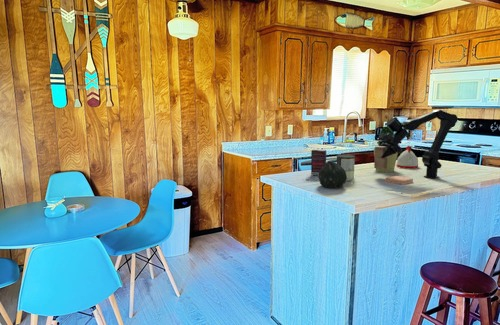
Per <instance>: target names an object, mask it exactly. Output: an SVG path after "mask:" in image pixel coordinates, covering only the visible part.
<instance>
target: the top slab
mask: <svg viewBox="0 0 500 325" xmlns="http://www.w3.org/2000/svg"><path fill="white" fill-rule="evenodd" d="M384 181H385V182H387V183H393V184H397V185H406V184H410V183H412V184H413V182H414V178H411V177H405V176H401V175H394V176H387V177H385V178H384Z"/></svg>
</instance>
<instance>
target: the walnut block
mask: <svg viewBox="0 0 500 325" xmlns="http://www.w3.org/2000/svg"><path fill="white" fill-rule="evenodd" d="M374 148H375V157H374V164H373V165H374V166H373V167H374V169H376V168H378V169H385V168H387V157H385V158H382V155H383V154H384V153H385V151H386V150H387V147H385V146H379V145H377V146H375V147H374Z"/></svg>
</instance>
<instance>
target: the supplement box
mask: <svg viewBox="0 0 500 325" xmlns="http://www.w3.org/2000/svg"><path fill="white" fill-rule="evenodd" d="M310 156H311V158H310V159H311V160H310V161H311V162H310V163H311V164H310V166H311V167H310V168H311V169H310V170H311V171H310V174H311V175H310V176H313V175H318V176H319V172H320V170H321V168H322V167H323V166H324V165H325V164H326V163H327V150H326V149H325V150H324V149H311V154H310ZM318 176H317V177H318Z"/></svg>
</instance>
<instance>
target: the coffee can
mask: <svg viewBox="0 0 500 325" xmlns="http://www.w3.org/2000/svg"><path fill="white" fill-rule="evenodd" d="M355 159H356V156H355V155H352V154H336V164H338V165H340V166H341V167H342V168H343V169H344V170H345V172H346V176H347V179H346V181H345V182H349V180H353V179H355Z"/></svg>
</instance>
